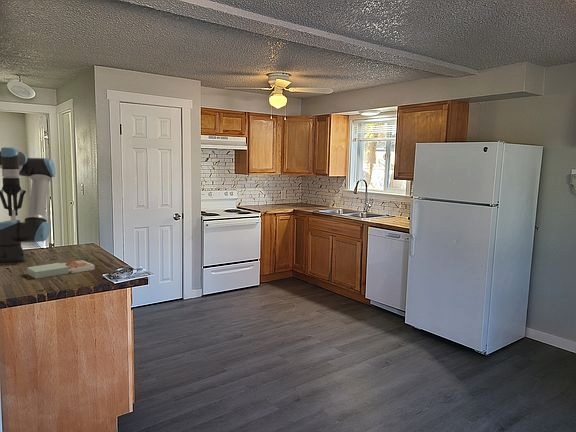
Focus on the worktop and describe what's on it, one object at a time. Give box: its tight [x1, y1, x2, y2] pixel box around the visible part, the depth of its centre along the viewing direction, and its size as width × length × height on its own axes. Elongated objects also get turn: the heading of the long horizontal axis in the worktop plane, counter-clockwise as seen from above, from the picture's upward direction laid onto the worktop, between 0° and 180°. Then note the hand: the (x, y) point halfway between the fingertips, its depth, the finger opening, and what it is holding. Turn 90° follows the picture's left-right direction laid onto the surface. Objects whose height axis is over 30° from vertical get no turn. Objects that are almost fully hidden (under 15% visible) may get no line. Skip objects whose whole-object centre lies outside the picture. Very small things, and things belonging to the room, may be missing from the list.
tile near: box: [65, 258, 77, 269], centre depth 236 cm, size 4×4×3 cm
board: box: [26, 262, 70, 280], centre depth 228 cm, size 13×16×4 cm
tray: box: [60, 259, 96, 275], centre depth 239 cm, size 16×13×2 cm
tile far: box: [74, 260, 86, 268], centre depth 240 cm, size 4×4×3 cm
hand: (13, 222), depth 229 cm, fingers closed
